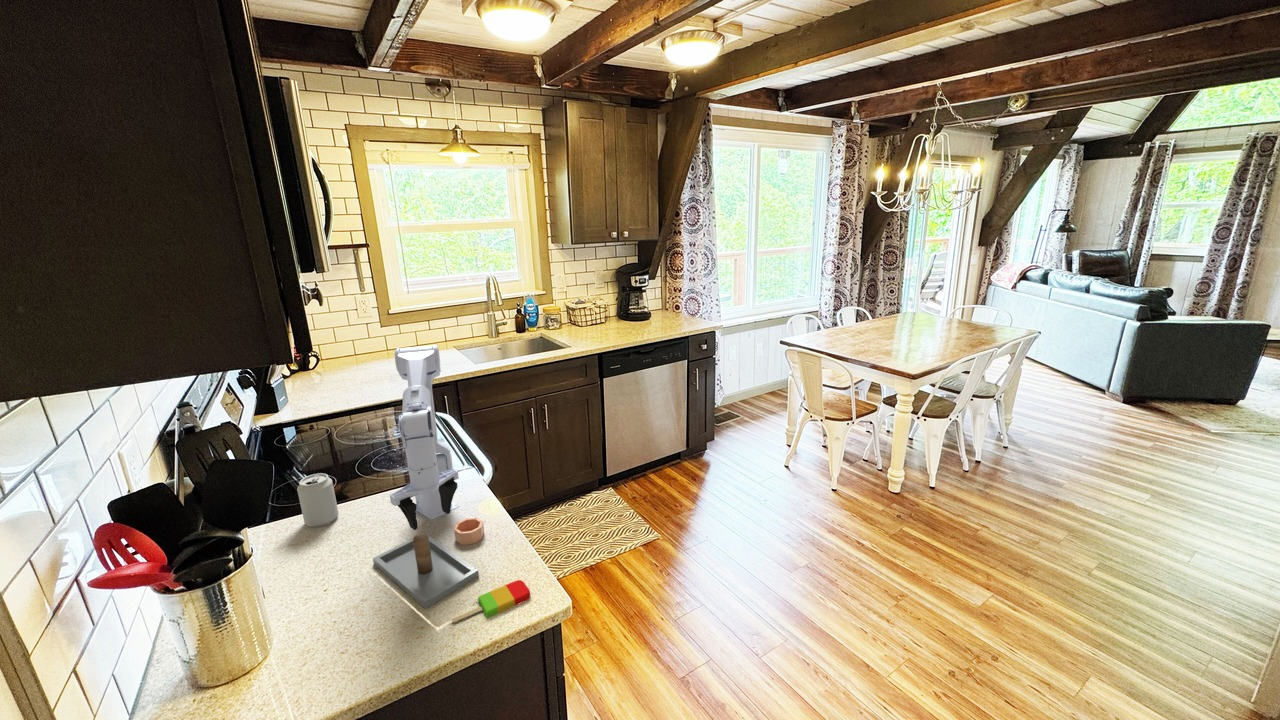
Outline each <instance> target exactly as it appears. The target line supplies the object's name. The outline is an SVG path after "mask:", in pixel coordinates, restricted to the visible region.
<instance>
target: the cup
mask: <svg viewBox="0 0 1280 720" xmlns="http://www.w3.org/2000/svg"><path fill="white" fill-rule="evenodd" d="M484 526H485V525H484V520H481V519H480V518H478V517H470V518H464V519H462V520H460V521H458V522H456V523H455V526H454V529H453V532H454V533H453V534H454V541H455V542H456V543H458V544H460V546H463V545H473V544H475V543H477V542H479V541H480V540H482V539H483V538H484V534H485V527H484Z"/></svg>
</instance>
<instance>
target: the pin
mask: <svg viewBox="0 0 1280 720" xmlns="http://www.w3.org/2000/svg"><path fill="white" fill-rule="evenodd" d="M425 533H426V532H422V533H419V534H416V535H415V536H413V544H414V550H415V557H416V563H417V569H418V573H419V574H427V573H429V572H431V571H432V569H433V566H432V559H431V552H430V545H429V539H428V536H429V535H428V534H427V533H426V534H425Z"/></svg>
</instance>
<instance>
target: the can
mask: <svg viewBox="0 0 1280 720" xmlns="http://www.w3.org/2000/svg"><path fill="white" fill-rule="evenodd" d="M298 484H299V485H298V486H297V490H296V491H297V495H298V500H299V505H300V508H301V514H302V517H303V518H302V519H303V523H304V524H305V525H306V526H308V527H311V528H320V527H324V526H328V525H329V524H331V523H332V522H334V521H335V520H336V519H337V517H338V516H339V508H338V504H337V499H336V494H335V488H334V483H333V479H332V478H330V477H329V475H328V474H326V473H322V472H320V473H319V472H318V473H313V474H310V475H307V476H305V477H303V478H302V479H301V480H299V482H298Z"/></svg>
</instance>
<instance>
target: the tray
mask: <svg viewBox="0 0 1280 720" xmlns="http://www.w3.org/2000/svg"><path fill="white" fill-rule="evenodd" d="M424 533H425V534H427V533H426V532H424ZM413 538H414V537H413ZM413 538H411V539H408V540H406V541H405V542H403V543H400V544H399V545H397V546H395V547H393V548H390V549H389V550H386V551H384V552H383V553H380V554H379V555H376V556H375V557H373V558H372V562H373V565H374V566H376V568H378V569H379V570H380V571H381V572H382V573H383V574H384V575H386V577H388V578H389V579H390V580H391V581H392V582H393V583H395V584H396V585H397V586H398V587H399V588H400V589H401V590H403V591H404V592H405V593H406V594H407V595H409V596H410V597H411V598H412V599H413V600H414V601H416V602H417V604H418V605H420V606H421V607H422V608H423V609H425V610H427V609H428V608H431V607H432V606H433V605H435V604H437V603H438V602H440V601H442V600H443V599H445V598H446V597H448V596H450V595H451V594H452V593H455V592H456V591H458V590H459V589H461V588H462V587H464V586H466V585H467V584H470V583H471V582H472V581H474V580H475V579H477V578H478V577H480V574H479V570H478V569H477V568H476V567H475V566H473V565H471V564H470V563H468V562H467V561H466V560H464V559H463V558H461V557H460V556H459V555H457V554H455V552H453V551H451V550H450V549H448V548H447V547H446V546H445V545H443V544H441V542H439V541H437V540H436V539H434V538H433V537H431V536H430V535H428V539H429V545H430V552H431V559H432V566H433V569H432V571H431V572H429V573H427V574H419V573H418V569H417V563H416V557H415V550H414V544H413Z"/></svg>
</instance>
